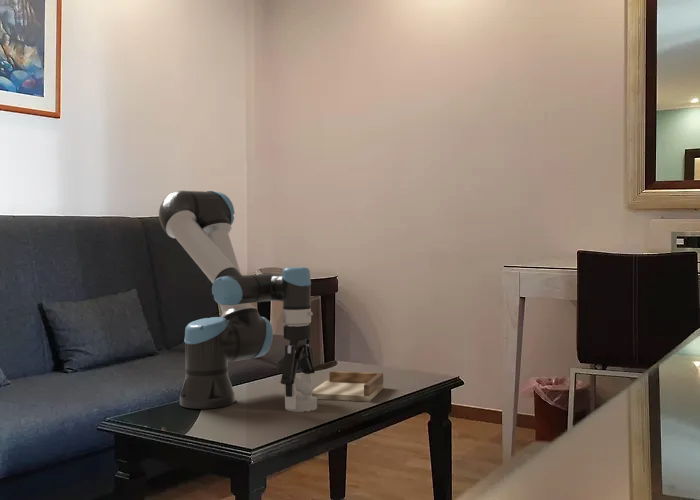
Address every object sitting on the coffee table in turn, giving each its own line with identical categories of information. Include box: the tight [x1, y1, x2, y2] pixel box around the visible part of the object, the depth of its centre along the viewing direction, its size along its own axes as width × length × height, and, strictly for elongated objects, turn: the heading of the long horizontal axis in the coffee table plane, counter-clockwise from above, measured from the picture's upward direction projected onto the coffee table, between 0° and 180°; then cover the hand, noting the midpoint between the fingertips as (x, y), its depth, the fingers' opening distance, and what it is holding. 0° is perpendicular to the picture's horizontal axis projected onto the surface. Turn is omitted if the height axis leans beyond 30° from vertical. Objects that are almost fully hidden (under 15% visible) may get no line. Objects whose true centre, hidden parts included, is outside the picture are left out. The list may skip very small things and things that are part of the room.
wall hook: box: [279, 376, 318, 413], centre depth 204 cm, size 9×10×10 cm
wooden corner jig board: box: [312, 370, 384, 402], centre depth 221 cm, size 18×18×4 cm
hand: (298, 402), depth 204 cm, fingers open, 13 cm apart
